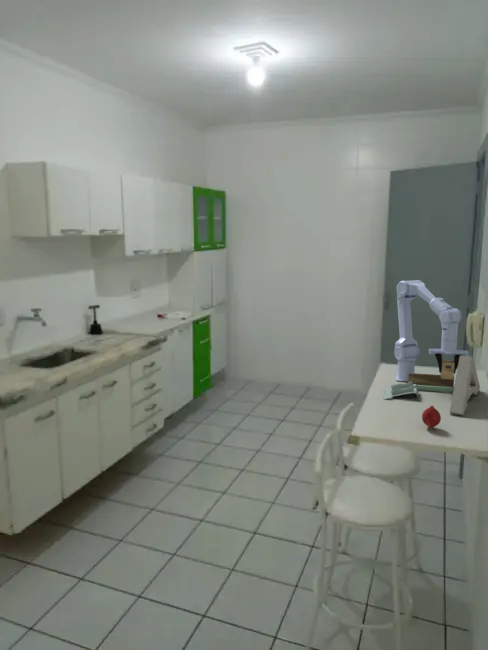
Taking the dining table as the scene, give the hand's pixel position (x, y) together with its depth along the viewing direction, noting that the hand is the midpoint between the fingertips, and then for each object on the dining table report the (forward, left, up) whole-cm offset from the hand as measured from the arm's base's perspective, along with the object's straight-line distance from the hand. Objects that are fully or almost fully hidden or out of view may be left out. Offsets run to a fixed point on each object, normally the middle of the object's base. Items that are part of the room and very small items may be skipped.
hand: (447, 372), depth 203 cm
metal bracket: (+6, -17, -10) cm, 21 cm away
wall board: (-10, -5, -9) cm, 14 cm away
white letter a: (+9, +6, -9) cm, 14 cm away
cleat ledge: (-6, -5, -9) cm, 12 cm away
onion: (+42, -8, -9) cm, 44 cm away
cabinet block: (0, 0, -2) cm, 2 cm away
